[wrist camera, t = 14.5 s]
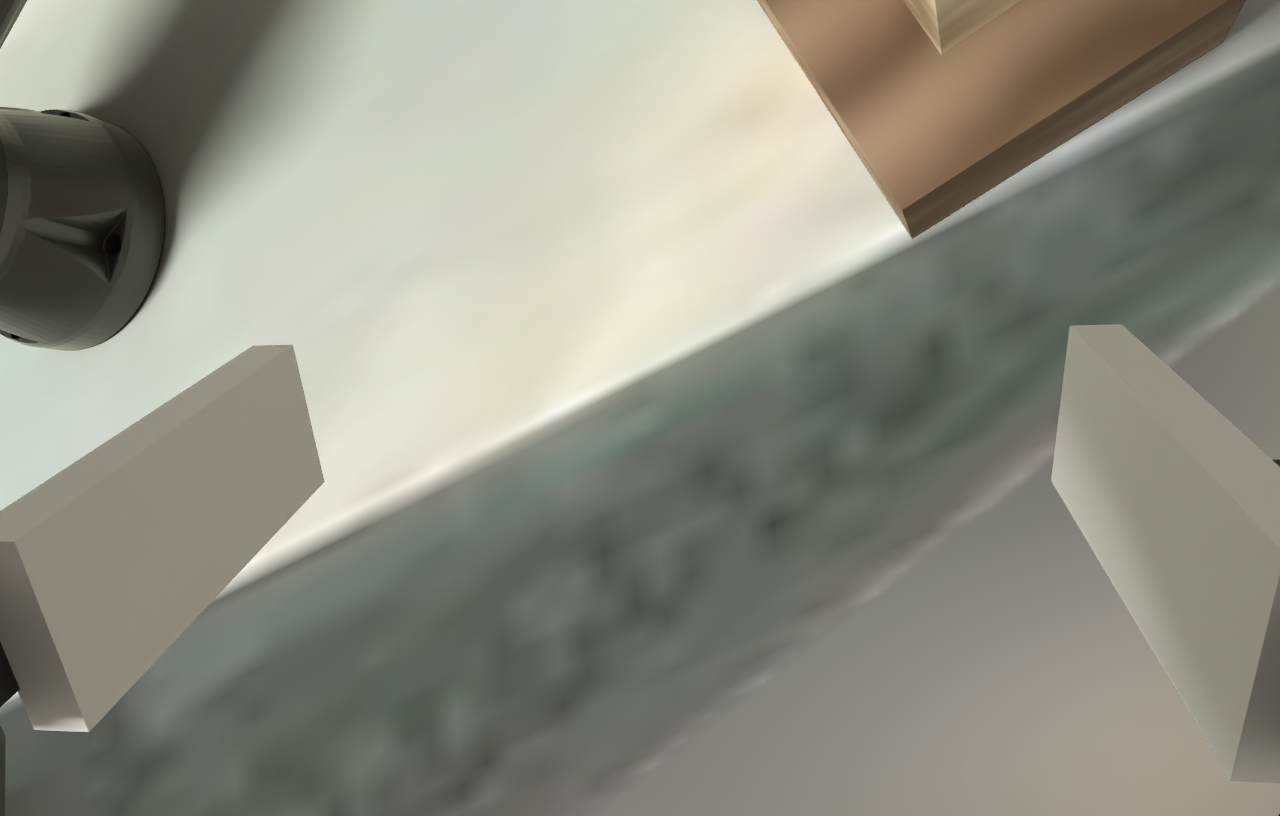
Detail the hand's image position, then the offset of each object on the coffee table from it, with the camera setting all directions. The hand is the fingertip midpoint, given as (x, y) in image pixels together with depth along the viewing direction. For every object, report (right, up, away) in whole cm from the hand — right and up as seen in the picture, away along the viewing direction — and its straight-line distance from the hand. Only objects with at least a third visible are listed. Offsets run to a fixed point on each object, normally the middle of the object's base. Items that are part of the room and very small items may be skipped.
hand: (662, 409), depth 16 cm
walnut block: (+14, +17, +25) cm, 33 cm away
